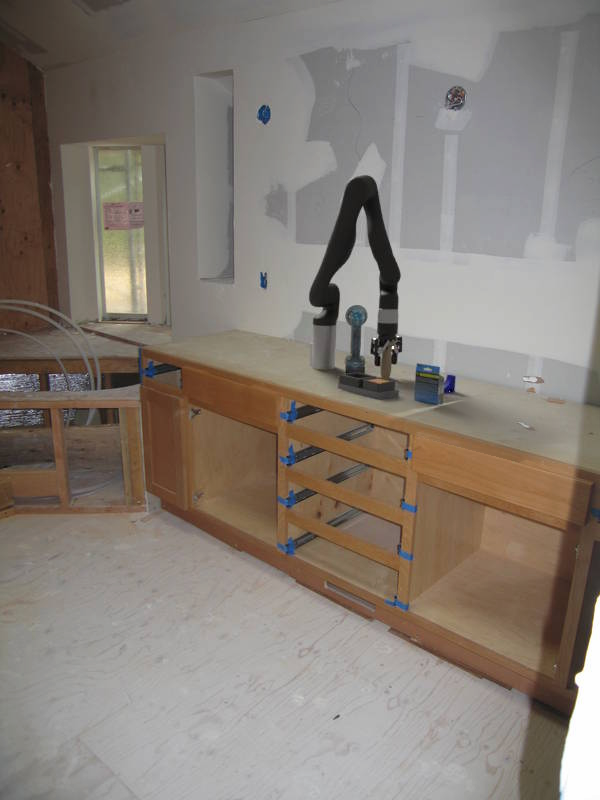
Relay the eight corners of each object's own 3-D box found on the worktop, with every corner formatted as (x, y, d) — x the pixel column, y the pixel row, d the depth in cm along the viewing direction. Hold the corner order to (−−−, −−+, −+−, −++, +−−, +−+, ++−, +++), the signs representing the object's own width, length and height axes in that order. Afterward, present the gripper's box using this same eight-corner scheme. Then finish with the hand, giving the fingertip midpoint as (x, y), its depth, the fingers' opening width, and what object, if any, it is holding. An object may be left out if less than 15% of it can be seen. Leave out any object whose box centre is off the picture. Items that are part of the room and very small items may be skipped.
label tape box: (443, 403, 205) (446, 365, 202) (437, 405, 202) (440, 366, 199) (419, 398, 210) (422, 361, 207) (413, 400, 207) (415, 363, 204)
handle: (389, 382, 235) (391, 342, 231) (374, 380, 239) (376, 340, 235) (395, 380, 238) (398, 340, 235) (381, 378, 242) (383, 339, 239)
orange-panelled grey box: (337, 388, 222) (338, 374, 221) (356, 385, 228) (357, 372, 227) (379, 399, 207) (380, 384, 206) (398, 396, 213) (399, 381, 212)
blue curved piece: (447, 390, 225) (448, 373, 223) (454, 393, 221) (455, 376, 219) (417, 392, 221) (418, 375, 219) (424, 394, 217) (425, 377, 215)
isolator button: (365, 386, 214) (366, 380, 213) (378, 384, 217) (378, 378, 217) (378, 389, 209) (379, 383, 209) (391, 387, 213) (391, 381, 212)
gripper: (381, 323, 226) (379, 368, 229) (408, 321, 235) (406, 364, 238) (366, 321, 232) (364, 365, 235) (393, 319, 240) (391, 362, 244)
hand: (385, 365), depth 237 cm, fingers open, 8 cm apart
